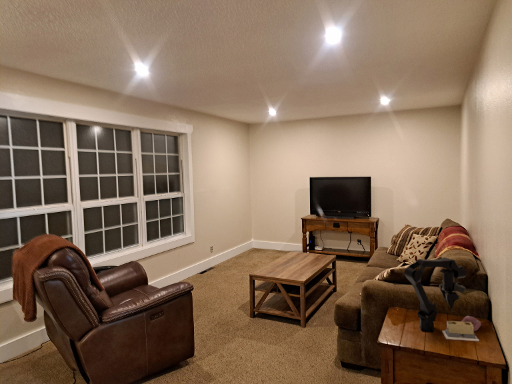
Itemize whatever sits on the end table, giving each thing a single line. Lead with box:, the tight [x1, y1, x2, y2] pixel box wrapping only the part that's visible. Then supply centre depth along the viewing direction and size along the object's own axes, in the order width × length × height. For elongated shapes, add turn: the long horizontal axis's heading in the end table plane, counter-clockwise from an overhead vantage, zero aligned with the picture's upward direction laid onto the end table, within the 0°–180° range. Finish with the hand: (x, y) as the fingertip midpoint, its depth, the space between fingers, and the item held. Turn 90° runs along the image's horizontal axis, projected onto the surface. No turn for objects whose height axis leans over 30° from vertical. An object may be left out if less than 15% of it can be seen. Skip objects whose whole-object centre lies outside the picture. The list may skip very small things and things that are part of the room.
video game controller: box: [460, 315, 482, 332], centre depth 201 cm, size 10×5×7 cm, turn 17°
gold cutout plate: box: [446, 320, 475, 335], centre depth 192 cm, size 12×4×5 cm, turn 75°
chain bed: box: [441, 328, 480, 342], centre depth 192 cm, size 16×9×6 cm, turn 75°
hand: (448, 305), depth 205 cm, fingers open, 9 cm apart
